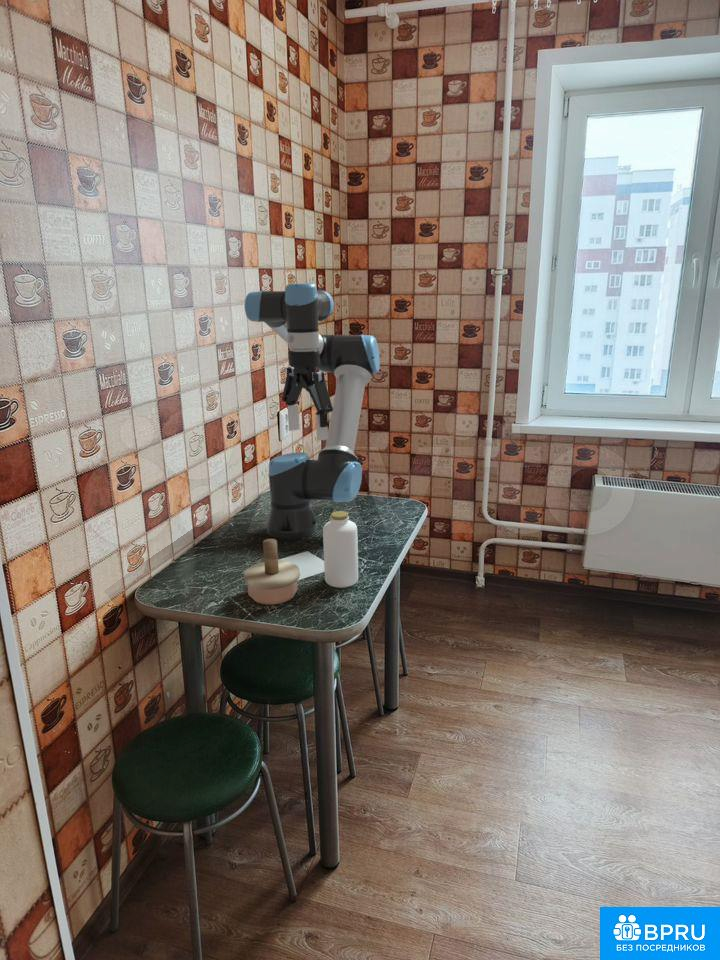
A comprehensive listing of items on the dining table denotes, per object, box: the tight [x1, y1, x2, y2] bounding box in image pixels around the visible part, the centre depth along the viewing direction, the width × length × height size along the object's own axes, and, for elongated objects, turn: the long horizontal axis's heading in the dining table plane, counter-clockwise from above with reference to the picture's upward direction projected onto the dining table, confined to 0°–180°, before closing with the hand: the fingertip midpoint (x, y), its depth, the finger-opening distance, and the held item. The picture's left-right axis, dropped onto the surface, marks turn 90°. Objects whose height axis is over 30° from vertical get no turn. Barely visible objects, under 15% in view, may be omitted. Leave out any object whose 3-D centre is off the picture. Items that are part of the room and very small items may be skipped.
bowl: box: [247, 580, 299, 606], centre depth 155 cm, size 11×11×5 cm
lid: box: [243, 538, 300, 589], centre depth 153 cm, size 13×13×9 cm
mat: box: [278, 550, 325, 581], centre depth 170 cm, size 14×14×1 cm
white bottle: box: [322, 510, 359, 589], centre depth 159 cm, size 8×8×18 cm
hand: (307, 434), depth 165 cm, fingers open, 13 cm apart
